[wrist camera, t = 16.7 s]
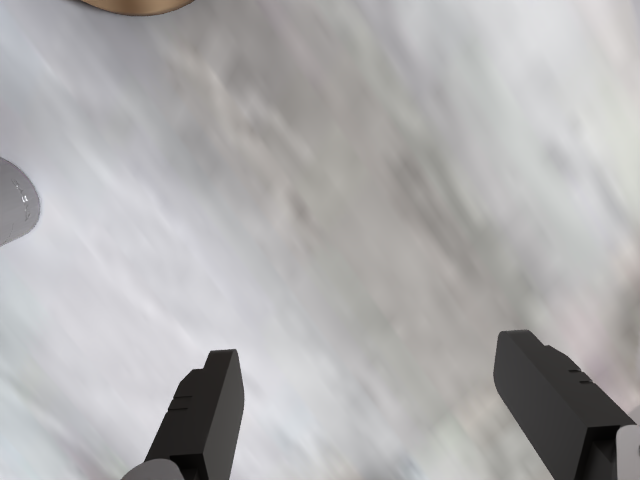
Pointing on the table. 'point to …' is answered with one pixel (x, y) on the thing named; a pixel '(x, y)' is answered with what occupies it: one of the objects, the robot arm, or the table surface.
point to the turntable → (139, 6)
